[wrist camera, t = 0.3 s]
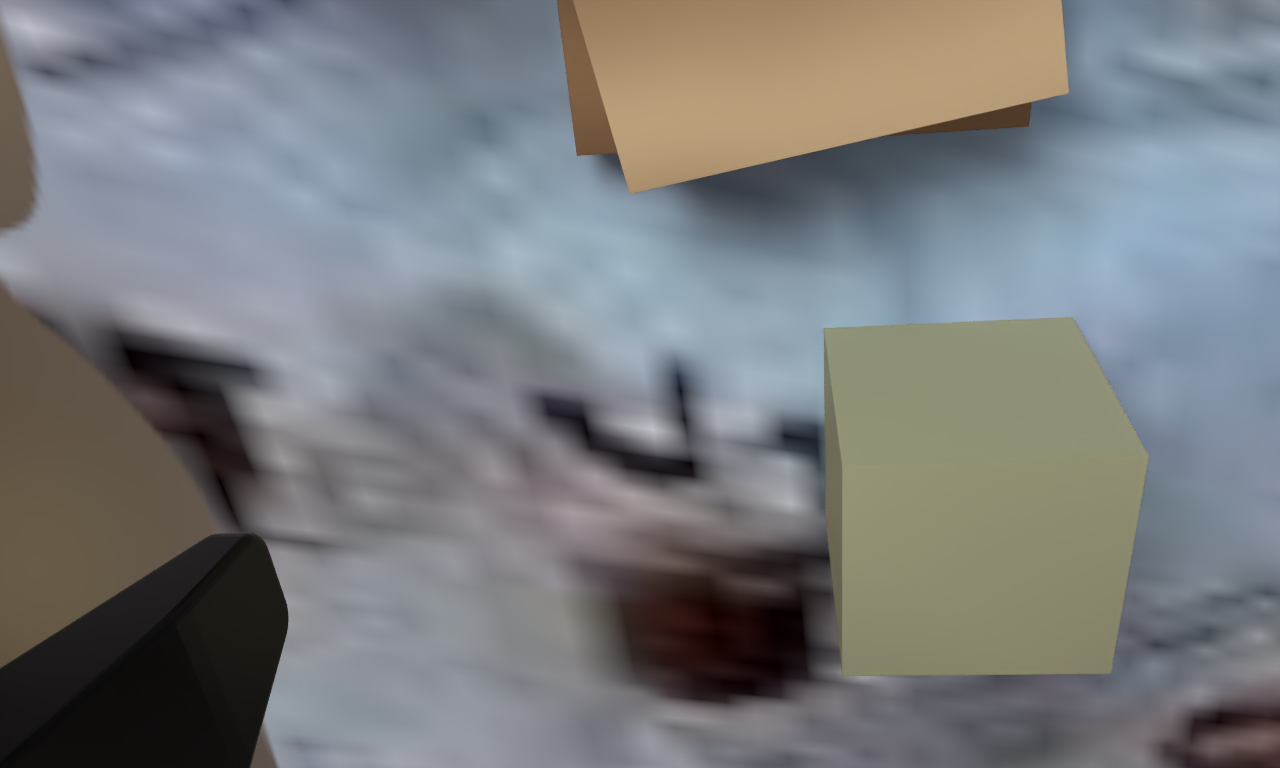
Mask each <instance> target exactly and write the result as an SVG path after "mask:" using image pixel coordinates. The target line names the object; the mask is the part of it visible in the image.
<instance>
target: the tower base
mask: <svg viewBox="0 0 1280 768" xmlns="http://www.w3.org/2000/svg"><path fill="white" fill-rule="evenodd" d="M557 5H558V12H559V20H560V28H561V36H562V43H563V51H564V59H565V67H566V74H567V82H568V90H569V98H570V105H571V113H572V121H573V129H574V136H575V144H576V152H577V156H580V155H595V154H610V153H618V152H617V148H616V145H615V142H614V138H613V135H612V131H611V128H610V125H609V121H608V118H607V114H606V111H605V108H604V104H603V101H602V97H601V94H600V91H599V87H598V84H597V80H596V77H595V74H594V70H593V67H592V63H591V60H590V57H589V53H588V50H587V46H586V43H585V40H584V36H583V33H582V29H581V26H580V23H579V19H578V16H577V12H576V9H575V6H574V2H573V0H557ZM1030 110H1031V102H1028V103H1024V104H1019V105H1015V106H1011V107H1006V108H1002V109H998V110H993V111H989V112H985V113H980V114H976V115H972V116H967V117H963V118H959V119H954V120H950V121H946V122H941V123H937V124H932V125H928V126H924V127H919V128H915V129H911V130H906V131H902V132H898V133H893V134H889V135H904V134H919V133H935V132H950V131H965V130H981V129H996V128H1012V127H1027V126H1029V121H1030ZM885 136H888V135H885Z"/></svg>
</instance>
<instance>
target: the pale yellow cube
mask: <svg viewBox="0 0 1280 768" xmlns="http://www.w3.org/2000/svg"><path fill="white" fill-rule="evenodd" d="M824 398H825V505H826V526H827V536H828V545H829V555H830V564H831V574H832V584H833V593H834V603H835V612H836V622H837V631H838V641H839V651H840V660H841V670H842V676H916V675H1032V674H1111V670H1112V665H1113V659H1114V653H1115V648H1116V642H1117V636H1118V631H1119V625H1120V619H1121V614H1122V608H1123V602H1124V597H1125V591H1126V585H1127V580H1128V574H1129V568H1130V563H1131V557H1132V551H1133V545H1134V540H1135V534H1136V528H1137V523H1138V517H1139V511H1140V506H1141V500H1142V494H1143V489H1144V483H1145V477H1146V472H1147V466H1148V460H1149V456H1148V454H1147V452H1146V450H1145V448H1144V447H1143V445H1142V443H1141V441H1140V439H1139V437H1138V436H1137V434H1136V432H1135V430H1134V428H1133V426H1132V425H1131V423H1130V421H1129V419H1128V417H1127V416H1126V414H1125V412H1124V410H1123V408H1122V406H1121V405H1120V403H1119V401H1118V399H1117V397H1116V395H1115V394H1114V392H1113V390H1112V388H1111V386H1110V384H1109V383H1108V381H1107V379H1106V377H1105V375H1104V374H1103V372H1102V370H1101V368H1100V366H1099V364H1098V363H1097V361H1096V359H1095V357H1094V355H1093V353H1092V352H1091V350H1090V348H1089V346H1088V344H1087V342H1086V341H1085V339H1084V337H1083V335H1082V333H1081V331H1080V330H1079V328H1078V326H1077V324H1076V322H1075V321H1074V319H1073V317H1063V318H1041V319H1018V320H996V321H973V322H951V323H929V324H906V325H884V326H861V327H839V328H824Z"/></svg>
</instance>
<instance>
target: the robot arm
mask: <svg viewBox="0 0 1280 768" xmlns="http://www.w3.org/2000/svg"><path fill="white" fill-rule="evenodd" d="M287 629H288V609H287V604H286V600H285V597H284V594H283V591H282V588H281V585H280V583H279V580H278V577H277V574H276V571H275V568H274V565H273V562H272V559H271V556H270V553H269V550H268V548H267V545H266V543H265V542H264V540H263V539H262V538H261V537H260V536H259V535H257V534H255V533H221V534H213V535H210V536H208V537H206V538H204V539H203V540H201V541H200V542H198V543H197V544H195V545H193V546H192V547H190V548H189V549H187V550H186V551H184V552H182V553H181V554H179V555H178V556H176V557H175V558H173V559H172V560H170V561H168V562H167V563H165V564H164V565H162V566H161V567H159V568H157V569H156V570H154V571H152V572H151V573H149V574H148V575H146V576H145V577H143V578H142V579H140V580H138V581H137V582H135V583H134V584H132V585H131V586H129V587H128V588H126V589H124V590H123V591H121V592H119V593H118V594H116V595H115V596H113V597H112V598H110V599H109V600H107V601H105V602H104V603H102V604H101V605H99V606H97V607H96V608H94V609H93V610H91V611H90V612H88V613H87V614H85V615H83V616H82V617H80V618H79V619H77V620H76V621H74V622H72V623H71V624H69V625H68V626H66V627H64V628H63V629H61V630H60V631H58V632H57V633H55V634H53V635H52V636H50V637H49V638H47V639H46V640H44V641H42V642H41V643H40V644H38V645H36V646H35V647H33V648H32V649H30V650H28V651H27V652H25V653H24V654H22V655H20V656H19V657H17V658H16V659H14V660H13V661H11V662H9V663H8V664H6V665H5V666H3V667H2V668H0V768H250V766H251V763H252V759H253V756H254V752H255V748H256V744H257V741H258V736H259V734H260V730H261V726H262V723H263V719H264V715H265V712H266V708H267V704H268V701H269V697H270V693H271V690H272V686H273V682H274V679H275V675H276V671H277V668H278V664H279V660H280V657H281V653H282V649H283V646H284V642H285V638H286V634H287Z"/></svg>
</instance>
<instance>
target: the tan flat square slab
mask: <svg viewBox="0 0 1280 768" xmlns="http://www.w3.org/2000/svg"><path fill="white" fill-rule="evenodd" d="M573 2H574V6H575V9H576V12H577V16H578V19H579V23H580V26H581V29H582V33H583V36H584V40H585V43H586V46H587V50H588V53H589V57H590V60H591V63H592V67H593V70H594V74H595V77H596V80H597V84H598V87H599V91H600V94H601V97H602V101H603V104H604V108H605V111H606V114H607V118H608V121H609V125H610V128H611V131H612V135H613V138H614V142H615V145H616V148H617V152H618V155H619V159H620V162H621V165H622V169H623V172H624V176H625V179H626V182H627V186H628V189H629V193H630V194H632V193H637V192H641V191H645V190H650V189H654V188H658V187H663V186H667V185H671V184H676V183H680V182H685V181H689V180H693V179H698V178H702V177H706V176H711V175H715V174H719V173H724V172H728V171H732V170H737V169H741V168H745V167H750V166H754V165H758V164H763V163H767V162H772V161H776V160H780V159H785V158H789V157H793V156H798V155H802V154H806V153H811V152H815V151H819V150H824V149H828V148H832V147H837V146H841V145H845V144H850V143H854V142H859V141H863V140H867V139H872V138H876V137H880V136H885V135H889V134H893V133H898V132H902V131H906V130H911V129H915V128H919V127H924V126H928V125H932V124H937V123H941V122H946V121H950V120H954V119H959V118H963V117H967V116H972V115H976V114H980V113H985V112H989V111H993V110H998V109H1002V108H1006V107H1011V106H1015V105H1019V104H1024V103H1028V102H1033V101H1037V100H1041V99H1046V98H1050V97H1054V96H1059V95H1063V94H1067V93H1069V89H1068V76H1067V64H1066V51H1065V38H1064V26H1063V13H1062V0H573Z"/></svg>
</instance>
